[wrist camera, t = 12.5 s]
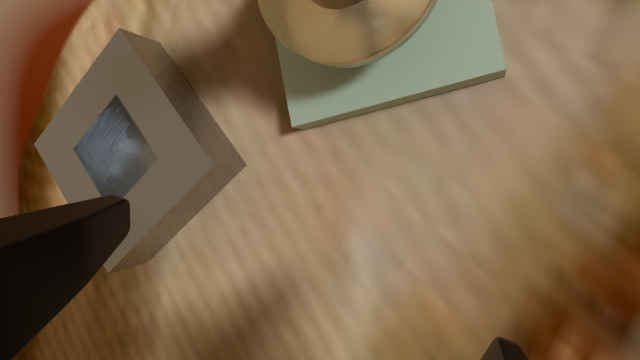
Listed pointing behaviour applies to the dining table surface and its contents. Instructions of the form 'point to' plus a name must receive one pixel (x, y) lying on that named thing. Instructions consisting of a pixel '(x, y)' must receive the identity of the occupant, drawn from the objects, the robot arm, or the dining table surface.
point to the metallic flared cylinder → (344, 28)
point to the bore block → (138, 145)
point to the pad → (399, 67)
